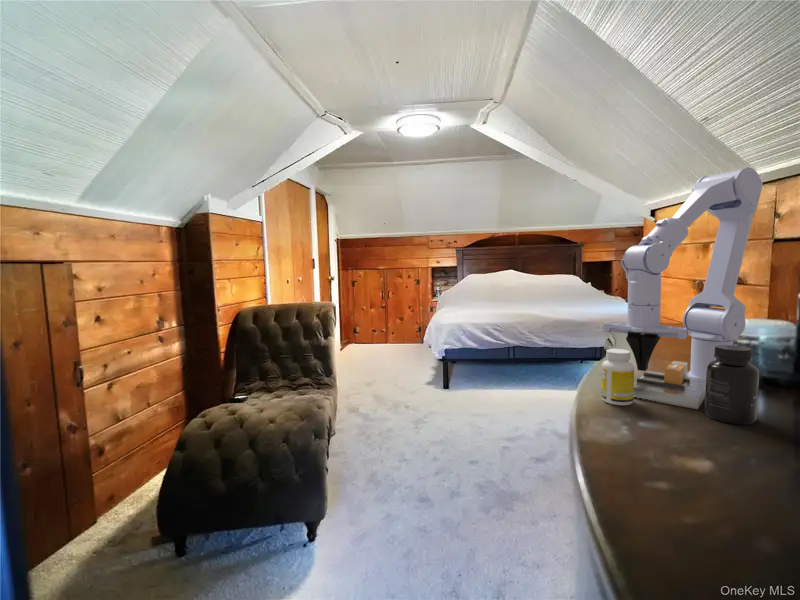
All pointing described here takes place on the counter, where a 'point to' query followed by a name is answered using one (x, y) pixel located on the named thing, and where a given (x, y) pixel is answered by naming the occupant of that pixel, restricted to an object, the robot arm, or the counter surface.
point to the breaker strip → (671, 388)
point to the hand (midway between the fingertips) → (642, 369)
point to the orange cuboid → (674, 374)
